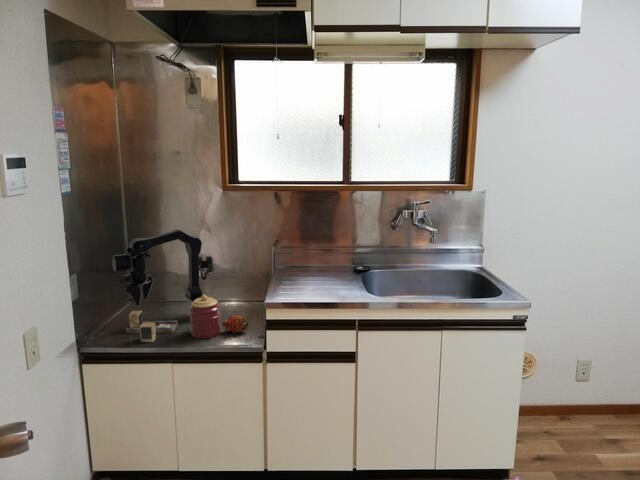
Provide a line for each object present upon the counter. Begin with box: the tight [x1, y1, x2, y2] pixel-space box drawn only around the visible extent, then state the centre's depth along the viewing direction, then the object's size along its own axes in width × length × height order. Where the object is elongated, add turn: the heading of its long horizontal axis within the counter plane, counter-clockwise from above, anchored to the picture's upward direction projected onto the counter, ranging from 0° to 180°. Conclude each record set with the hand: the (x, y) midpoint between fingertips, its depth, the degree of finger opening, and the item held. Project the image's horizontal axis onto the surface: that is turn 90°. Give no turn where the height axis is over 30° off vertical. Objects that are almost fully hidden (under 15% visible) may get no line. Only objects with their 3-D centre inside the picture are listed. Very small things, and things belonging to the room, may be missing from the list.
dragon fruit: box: [221, 314, 249, 335], centre depth 200 cm, size 8×8×12 cm
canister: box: [188, 294, 222, 339], centre depth 198 cm, size 13×13×18 cm
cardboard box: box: [139, 323, 157, 343], centre depth 192 cm, size 5×5×7 cm
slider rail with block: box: [125, 310, 179, 335], centre depth 204 cm, size 20×9×8 cm, turn 93°
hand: (141, 301), depth 200 cm, fingers open, 9 cm apart
